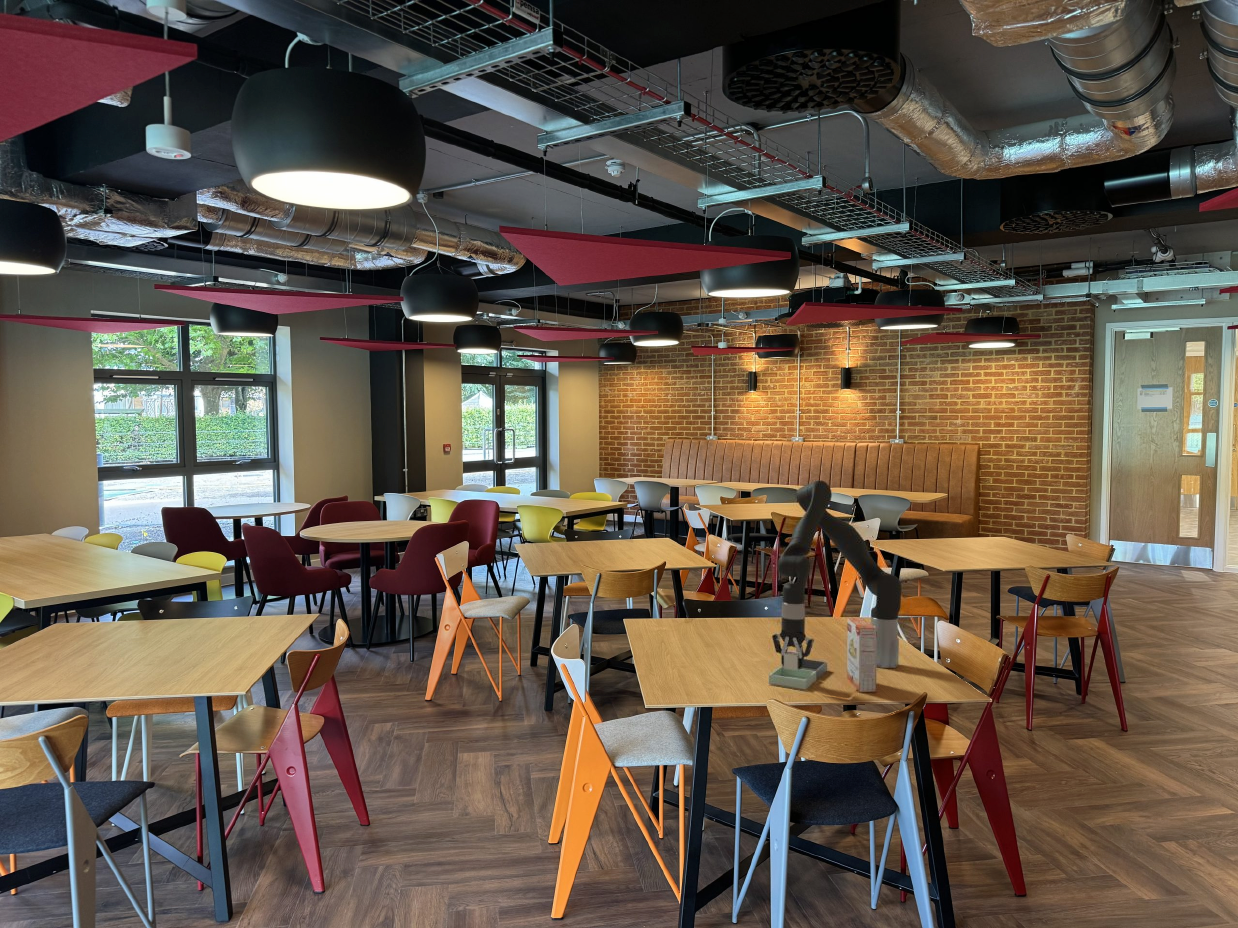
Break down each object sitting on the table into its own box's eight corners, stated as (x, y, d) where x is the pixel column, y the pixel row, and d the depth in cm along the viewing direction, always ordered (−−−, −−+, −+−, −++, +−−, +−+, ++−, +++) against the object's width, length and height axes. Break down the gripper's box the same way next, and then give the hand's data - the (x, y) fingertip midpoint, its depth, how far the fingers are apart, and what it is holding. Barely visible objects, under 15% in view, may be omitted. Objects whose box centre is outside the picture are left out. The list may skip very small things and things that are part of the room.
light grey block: (801, 667, 260) (801, 652, 260) (797, 670, 256) (797, 655, 256) (788, 665, 262) (788, 650, 262) (783, 668, 258) (783, 653, 258)
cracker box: (845, 679, 264) (846, 617, 263) (863, 679, 264) (864, 618, 263) (857, 692, 250) (858, 627, 249) (876, 692, 250) (877, 627, 249)
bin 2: (827, 672, 273) (827, 662, 272) (817, 680, 262) (817, 670, 262) (792, 666, 279) (793, 657, 279) (781, 675, 268) (781, 665, 268)
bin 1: (816, 681, 261) (816, 671, 261) (805, 691, 251) (805, 680, 251) (780, 675, 267) (781, 665, 267) (768, 685, 257) (768, 674, 257)
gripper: (817, 616, 258) (817, 667, 259) (776, 611, 266) (775, 661, 266) (811, 620, 252) (810, 673, 252) (768, 615, 259) (767, 666, 260)
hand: (792, 666), depth 259 cm, fingers closed on light grey block, 4 cm apart
